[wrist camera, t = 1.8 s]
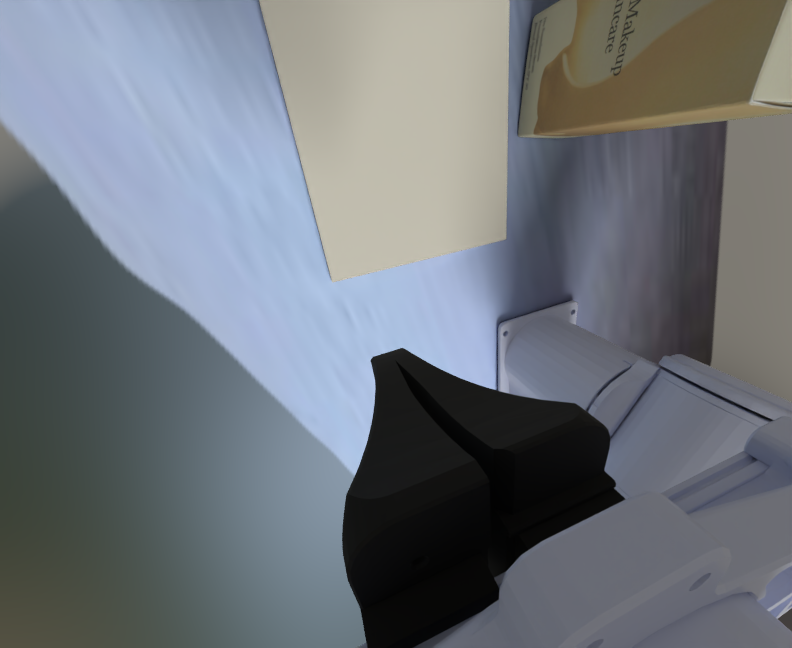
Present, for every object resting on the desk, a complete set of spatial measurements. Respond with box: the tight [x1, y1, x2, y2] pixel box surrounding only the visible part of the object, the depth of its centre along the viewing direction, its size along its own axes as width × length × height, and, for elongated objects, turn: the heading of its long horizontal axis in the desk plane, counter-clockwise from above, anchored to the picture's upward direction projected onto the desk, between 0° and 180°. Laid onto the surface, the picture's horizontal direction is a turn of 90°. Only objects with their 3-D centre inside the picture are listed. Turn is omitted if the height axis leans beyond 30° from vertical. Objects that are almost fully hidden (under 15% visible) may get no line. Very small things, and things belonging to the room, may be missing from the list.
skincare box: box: [518, 0, 792, 138], centre depth 15 cm, size 6×4×12 cm
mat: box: [259, 0, 509, 282], centre depth 18 cm, size 18×13×1 cm
